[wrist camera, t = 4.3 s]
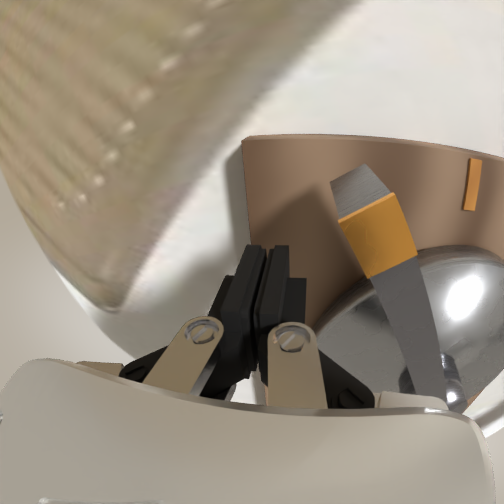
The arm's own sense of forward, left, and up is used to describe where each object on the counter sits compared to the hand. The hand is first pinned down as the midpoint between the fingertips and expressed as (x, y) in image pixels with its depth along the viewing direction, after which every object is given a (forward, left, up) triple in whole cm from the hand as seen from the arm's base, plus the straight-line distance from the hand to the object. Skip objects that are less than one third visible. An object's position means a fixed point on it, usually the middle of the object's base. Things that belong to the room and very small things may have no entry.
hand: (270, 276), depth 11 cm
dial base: (-10, +9, -6) cm, 15 cm away
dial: (-9, +6, -3) cm, 11 cm away
